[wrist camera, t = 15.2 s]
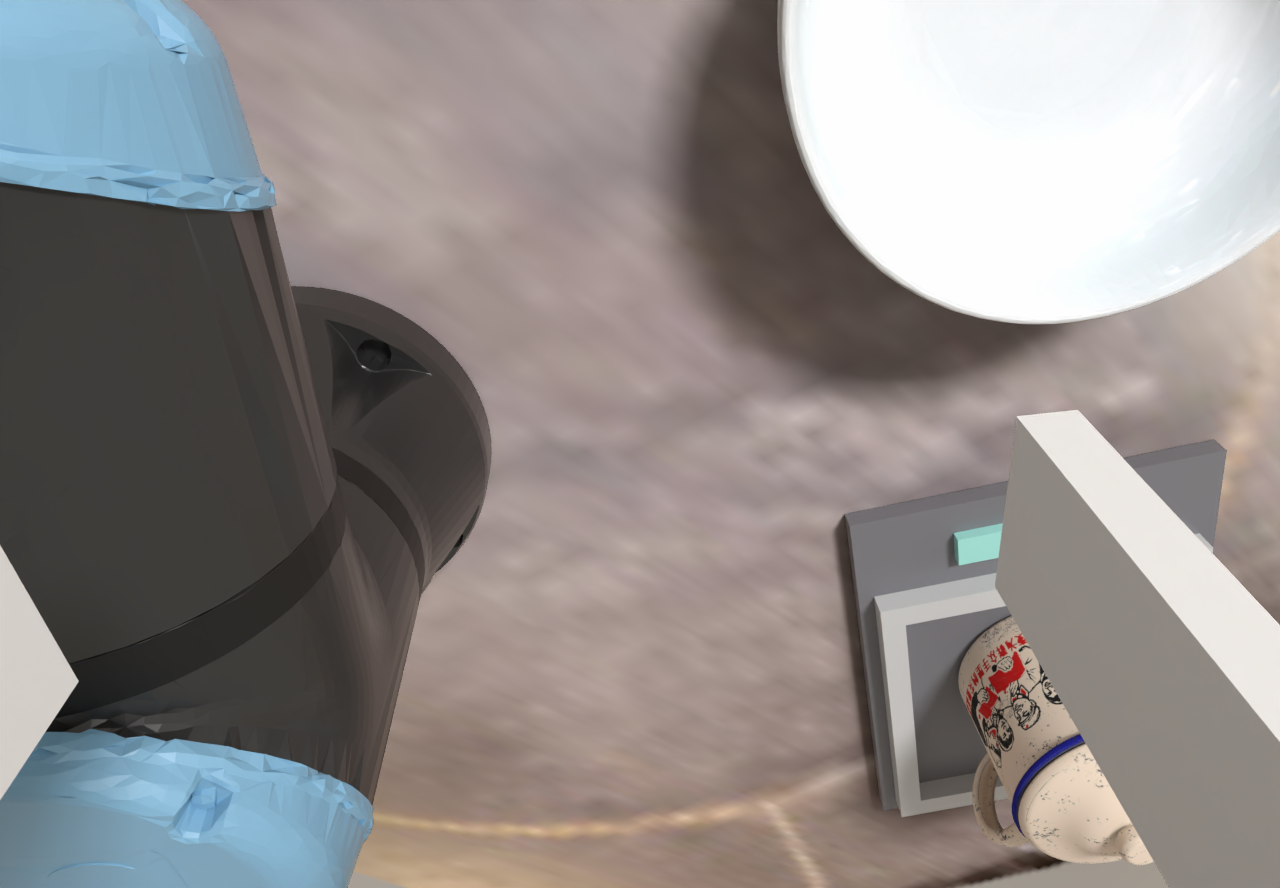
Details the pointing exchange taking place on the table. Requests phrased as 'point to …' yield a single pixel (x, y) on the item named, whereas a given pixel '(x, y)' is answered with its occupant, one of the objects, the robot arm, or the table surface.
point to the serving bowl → (1039, 144)
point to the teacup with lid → (1038, 759)
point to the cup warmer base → (960, 617)
